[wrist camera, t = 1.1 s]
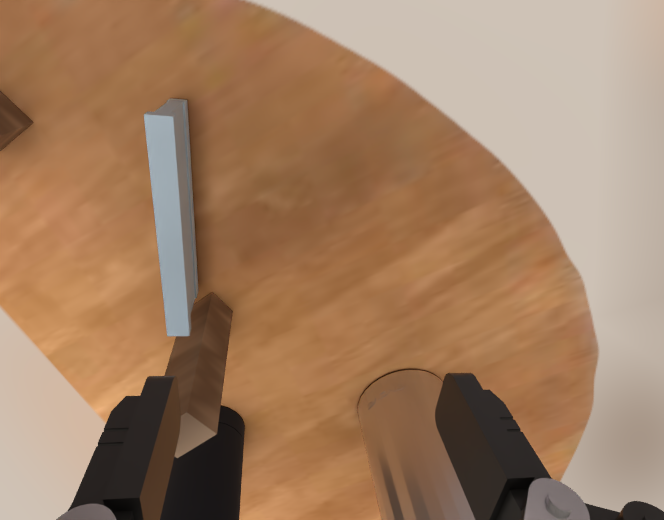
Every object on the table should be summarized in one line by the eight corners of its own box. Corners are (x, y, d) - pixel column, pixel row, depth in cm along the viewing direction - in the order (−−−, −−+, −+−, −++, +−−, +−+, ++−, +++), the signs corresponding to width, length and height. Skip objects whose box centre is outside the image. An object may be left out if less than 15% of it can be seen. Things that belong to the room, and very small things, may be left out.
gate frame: (233, 310, 35) (216, 445, 23) (203, 330, 35) (173, 471, 24) (-4, 85, 25) (-222, 134, 14) (-40, 118, 25) (-278, 190, 14)
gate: (201, 291, 33) (189, 336, 28) (182, 290, 33) (167, 336, 28) (190, 99, 26) (173, 116, 21) (166, 98, 26) (143, 114, 21)
